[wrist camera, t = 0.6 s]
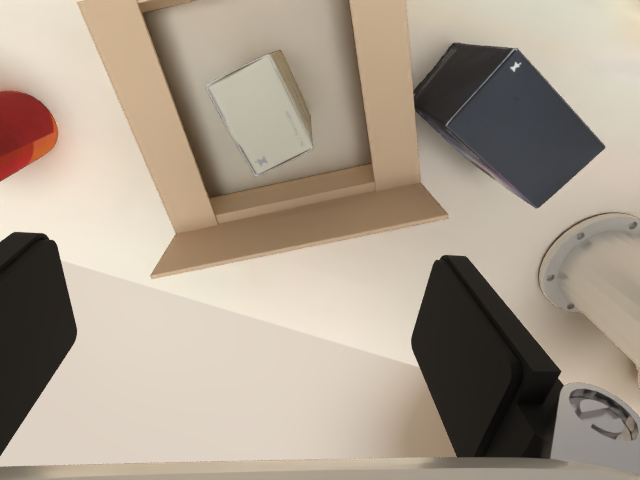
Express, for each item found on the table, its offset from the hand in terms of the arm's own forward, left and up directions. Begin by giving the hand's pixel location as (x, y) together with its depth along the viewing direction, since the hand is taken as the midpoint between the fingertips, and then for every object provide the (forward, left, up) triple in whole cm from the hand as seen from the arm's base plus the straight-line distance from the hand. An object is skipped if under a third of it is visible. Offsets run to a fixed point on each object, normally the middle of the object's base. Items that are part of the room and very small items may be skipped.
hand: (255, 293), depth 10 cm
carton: (+1, -2, -28) cm, 28 cm away
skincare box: (+1, -2, -28) cm, 28 cm away
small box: (-16, +3, -28) cm, 33 cm away
